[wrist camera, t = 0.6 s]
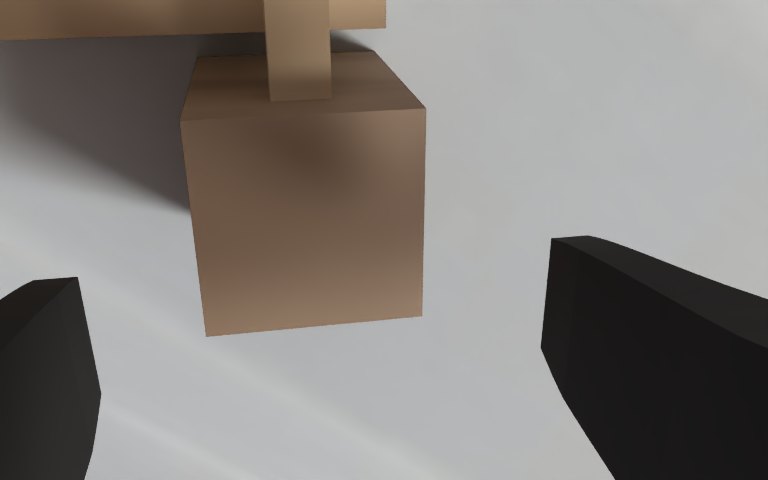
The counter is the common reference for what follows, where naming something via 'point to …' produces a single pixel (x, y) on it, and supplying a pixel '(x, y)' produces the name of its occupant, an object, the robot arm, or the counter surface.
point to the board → (160, 17)
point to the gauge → (304, 181)
